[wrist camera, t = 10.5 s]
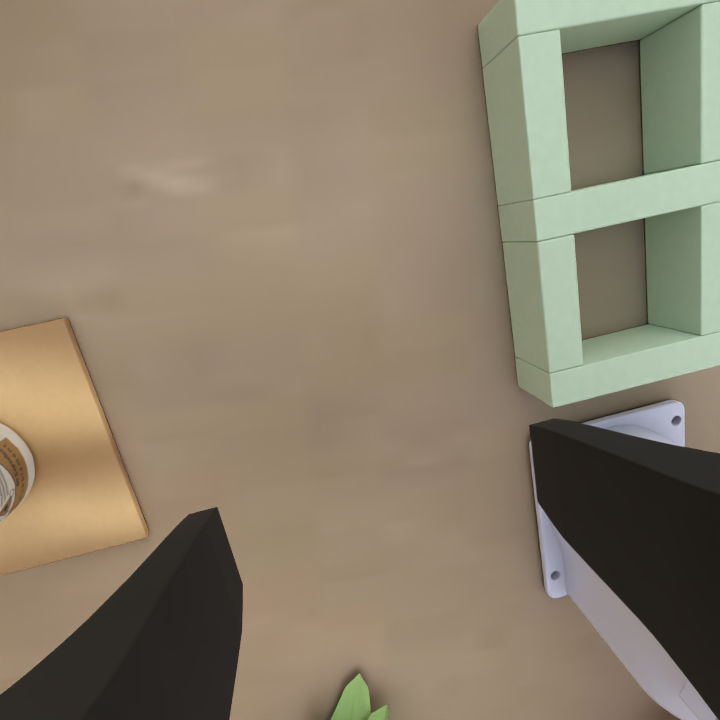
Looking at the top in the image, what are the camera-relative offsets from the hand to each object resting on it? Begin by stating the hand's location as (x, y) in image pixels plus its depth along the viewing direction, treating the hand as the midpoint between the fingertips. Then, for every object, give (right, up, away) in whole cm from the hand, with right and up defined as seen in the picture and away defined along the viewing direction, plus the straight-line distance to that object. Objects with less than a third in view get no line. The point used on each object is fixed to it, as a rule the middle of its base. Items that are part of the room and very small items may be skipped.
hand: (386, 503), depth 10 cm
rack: (+9, +10, +10) cm, 17 cm away
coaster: (-16, -1, +9) cm, 18 cm away
